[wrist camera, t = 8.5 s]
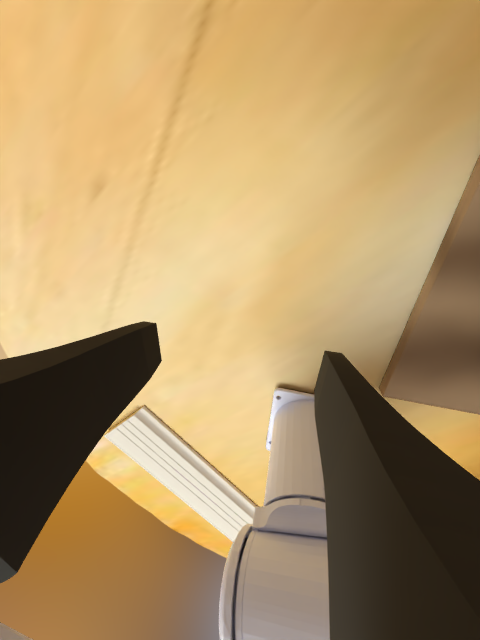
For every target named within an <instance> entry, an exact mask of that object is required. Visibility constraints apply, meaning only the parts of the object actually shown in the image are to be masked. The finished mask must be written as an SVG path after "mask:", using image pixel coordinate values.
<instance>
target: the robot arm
mask: <svg viewBox="0 0 480 640" xmlns="http://www.w3.org/2000/svg"><path fill="white" fill-rule="evenodd" d="M161 361H162V360H161V353H160V346H159V339H158V332H157V325H156V323H150V322H139V323H135V324H131V325H128V326H124V327H121V328H118V329H115V330H112V331H108V332H105V333H102V334H99V335H96V336H93V337H89V338H86V339H83V340H79V341H76V342H72V343H69V344H66V345H62V346H59V347H55V348H51V349H47V350H43V351H39V352H35V353H30V354H26V355H22V356H17V357H12V358H7V359H2V360H0V583H2V582H4V581H6V580H8V579H10V578H11V577H12V576H14V575H15V574H16V573H17V572H18V570H19V569H20V567H21V565H22V563H23V561H24V559H25V558H26V556H27V554H28V552H29V551H30V549H31V547H32V545H33V544H34V542H35V540H36V538H37V537H38V535H39V533H40V531H41V530H42V528H43V526H44V525H45V523H46V521H47V520H48V518H49V516H50V515H51V513H52V511H53V510H54V508H55V507H56V505H57V503H58V502H59V500H60V499H61V497H62V495H63V494H64V492H65V491H66V489H67V487H68V486H69V484H70V483H71V481H72V480H73V478H74V477H75V475H76V474H77V472H78V471H79V469H80V468H81V466H82V465H83V463H84V462H85V460H86V459H87V457H88V456H89V454H90V453H91V452H92V450H93V449H94V447H95V446H96V444H97V443H98V442H99V440H100V439H101V437H102V436H103V435H104V433H105V432H106V431H107V429H108V428H109V427H110V426H111V424H112V423H113V422H114V421H115V420H116V418H117V417H118V416H119V415H120V414H121V413H122V411H123V410H124V409H125V408H126V407H127V406H128V404H129V403H130V402H131V401H132V400H133V399H134V398H135V396H136V395H137V394H138V393H139V392H140V391H141V389H142V388H143V387H144V386H145V385H146V383H147V382H148V381H149V380H150V378H151V377H152V375H153V374H154V372H155V371H156V369H157V368H158V366H159V364H160V363H161ZM277 396H280V397H277ZM266 449H267V450H269V451H270V457H269V465H268V474H267V482H266V491H265V499H264V507H255V511H254V518H253V524H246V525H244V526H243V527H242V528H241V530H240V531H239V533H238V535H237V537H236V538H235V540H234V542H233V544H232V546H231V548H230V551H229V554H228V557H227V560H226V564H225V568H224V573H223V579H222V585H221V593H220V605H219V633H220V640H480V481H479V480H478V479H477V478H476V477H474V476H473V475H472V474H470V473H469V472H468V471H466V470H465V469H464V468H462V467H461V466H460V465H459V464H457V463H456V462H455V461H454V460H452V459H451V458H450V457H449V456H447V455H446V454H445V453H444V452H443V451H441V450H440V449H439V448H438V447H437V446H435V445H434V444H433V443H432V442H431V441H430V440H428V439H427V438H426V437H425V436H424V435H422V434H421V433H420V432H419V431H418V430H417V429H415V428H414V427H413V426H412V425H411V424H410V423H409V422H408V421H407V420H406V419H404V418H403V417H402V416H401V415H400V414H399V413H398V412H397V411H396V410H395V409H394V408H393V407H392V406H391V405H390V404H389V403H388V402H387V401H386V400H385V399H384V398H383V397H382V396H381V395H380V394H379V393H378V392H377V391H376V390H375V389H374V388H373V387H372V386H371V385H370V384H369V383H368V382H367V381H366V379H365V378H364V377H363V376H362V375H361V374H360V373H359V372H358V371H357V370H356V368H355V367H354V366H353V365H352V364H351V363H350V362H349V361H348V359H347V358H346V357H345V356H344V355H343V354H342V353H337V352H331V351H325V352H324V355H323V359H322V363H321V367H320V371H319V375H318V379H317V382H316V386H315V390H314V395H313V394H308V393H303V392H298V391H293V390H288V389H283V388H276V389H275V390H274V396H273V402H272V409H271V416H270V422H269V429H268V435H267V442H266ZM0 640H33V639H31V638H29V637H27V636H25V635H23V634H21V633H19V632H18V631H16V630H14V629H12V628H10V627H8V626H6V625H4V624H2V623H0Z"/></svg>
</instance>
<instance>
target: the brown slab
mask: <svg viewBox="0 0 480 640" xmlns="http://www.w3.org/2000/svg"><path fill="white" fill-rule="evenodd" d="M379 389H380V391H381V393H382V395H383V396H384V397H390V398H395V399H400V400H405V401H411V402H416V403H421V404H427V405H432V406H437V407H442V408H448V409H453V410H458V411H463V412H469V413H474V414H479V415H480V156H479V158H478V160H477V163H476V165H475V167H474V170H473V172H472V174H471V177H470V179H469V181H468V184H467V186H466V188H465V191H464V193H463V195H462V197H461V200H460V202H459V204H458V207H457V209H456V211H455V214H454V216H453V218H452V221H451V223H450V225H449V228H448V230H447V232H446V234H445V237H444V239H443V241H442V244H441V246H440V248H439V251H438V253H437V255H436V258H435V260H434V262H433V265H432V267H431V269H430V271H429V274H428V276H427V278H426V281H425V283H424V285H423V288H422V290H421V292H420V295H419V297H418V299H417V302H416V304H415V306H414V308H413V311H412V313H411V315H410V318H409V320H408V322H407V325H406V327H405V329H404V332H403V334H402V336H401V339H400V341H399V343H398V345H397V348H396V350H395V352H394V355H393V357H392V359H391V362H390V364H389V366H388V369H387V371H386V373H385V376H384V378H383V380H382V382H381V385H380V387H379Z"/></svg>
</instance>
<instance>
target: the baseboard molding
mask: <svg viewBox="0 0 480 640" xmlns="http://www.w3.org/2000/svg"><path fill="white" fill-rule="evenodd" d="M104 436H105V437H106V438H107V439H108V440H109V441H111V442H112V443H113V444H114V445H116V446H117V447H118V448H119V449H120V450H122V451H123V452H124V453H125V454H127V455H128V456H129V457H130V458H131V459H133V460H134V461H135V462H136V463H137V464H139V465H140V466H141V467H142V468H144V469H145V470H146V471H147V472H148V473H150V474H151V475H152V476H153V477H154V478H156V479H157V480H158V481H159V482H161V483H162V484H163V485H164V486H165V487H167V488H168V489H169V490H170V491H171V492H173V493H174V494H175V495H176V496H178V497H179V498H180V499H181V500H182V501H184V502H185V503H186V504H187V505H188V506H190V507H191V508H192V509H193V510H195V511H196V512H197V513H198V514H199V515H201V516H202V517H203V518H204V519H205V520H207V521H208V522H209V523H210V524H212V525H213V526H214V527H215V528H216V529H218V530H219V531H220V532H221V533H223V534H224V535H225V536H226V537H227V538H229V539H230V540H231V541H232V542H234V540H235V538H236V537H237V535H238V533H239V531H240V530H241V528H242V527H243V526H244V525H246V524H253V518H254V511H255V507H257V506H256V505H255V504H254V503H253V502H252V501H251V500H250V499H248V498H247V497H246V496H245V495H244V494H243V493H242V492H241V491H239V490H238V489H237V488H236V487H235V486H234V485H233V484H232V483H230V482H229V481H228V480H227V479H226V478H225V477H224V476H223V475H221V474H220V473H219V472H218V471H217V470H216V469H215V468H214V467H212V466H211V465H210V464H209V463H208V462H207V461H206V460H205V459H203V458H202V457H201V456H200V455H199V454H198V453H197V452H196V451H194V450H193V449H192V448H191V447H190V446H189V445H188V444H187V443H186V442H184V441H183V440H182V439H181V438H180V437H179V436H178V435H177V434H175V433H174V432H173V431H172V430H171V429H170V428H169V427H168V426H166V425H165V424H164V423H163V422H162V421H161V420H160V419H159V418H157V417H156V416H155V415H154V414H153V413H152V412H151V411H150V410H148V409H147V408H146V407H145V406H143V407H141V408H140V409H138V410H137V411H136V412H134V413H133V414H131V415H130V416H129V417H127V418H126V419H124V420H123V421H121V422H120V423H119V424H117V425H116V426H114V427H113V428H112V429H110V430H109V431H108V432H107V433H106V434H105V435H104Z"/></svg>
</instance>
